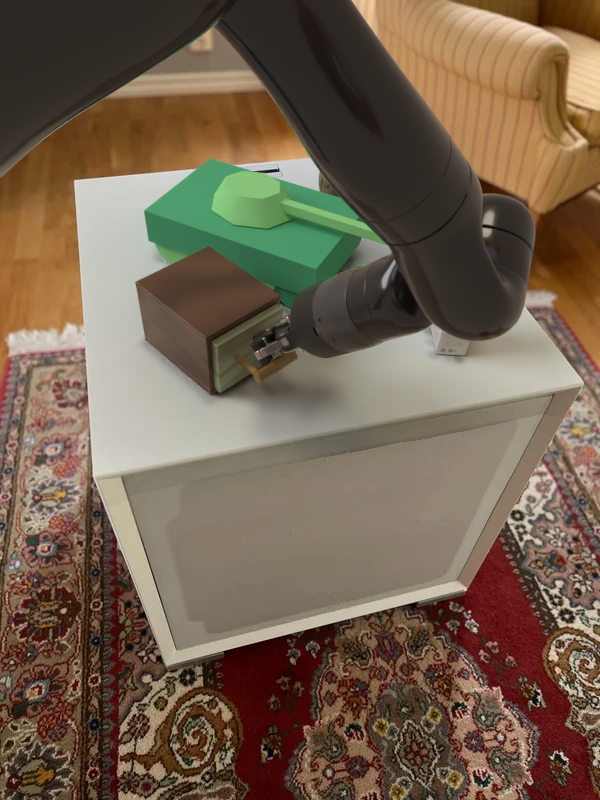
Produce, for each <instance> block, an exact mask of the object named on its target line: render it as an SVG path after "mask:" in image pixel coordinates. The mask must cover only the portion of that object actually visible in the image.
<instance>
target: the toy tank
mask: <svg viewBox="0 0 600 800" xmlns="http://www.w3.org/2000/svg"><path fill="white" fill-rule="evenodd" d="M143 212H144V219H145V220H144V221H145V226H146V234H147V240H148V242H150V243H153V244H154V246H155V248H156V250H157V252H158V253H159V254H160V256H161V258H163V259H164V260H165V261H166V262H167V263H169V264H170V265H171V264H173V263H175V262H177V261H179V260H181V259H183V258H185V257H187V256H190V255H192V254H194V253H196V252H198V251H200V250H202V249H204V248H206V247H208V246H210V247H211V248H212V249H214V250H215V251H217V252H218V253H220V254H221V255H223V256H224V257H226V258H227V259H228V260H230V261H231V262H233V263H234V264H236V265H237V266H239V267H240V268H242V269H243V270H244V271H246V272H247V273H249V274H250V275H252V276H253V277H255V278H256V279H258V280H259V281H260V282H262V283H263V284H265V285H266V286H268V287H269V288H271V289H272V290H274V291H275V292H276V293H278V294H279V295H280V303H282V304H283V305H285V306H286V307H287V308H289V309H291V308H292V304H293V302H294V300H295V298H296V296H297V295H298V294H299V293H300V292H301V291H302V290H303V289H305V288H306V287H308V286H311V285H313V284H315V283H318V282H320V281H322V280H325V279H327V278H329V277H331V276H334V275H336V274H338V273H339V271H340V270H341V269H342V267H343V266H344V265H345V264H346V262H347V261H348V260H349V258H350V257H351V256H352V255H353V253H354V252H355V251H356V249H357V248H358V247H359V245H360V244H361V241H362V238H363V239H365V240H368V241H372V242H375V243H377V244H381V245H384V246H387V247H389V246H388V245H387V244H386V243H384V242H383V241H382V240H381V239H380V238H379V237H378V236H377V235H376V234H375V233H374V232H373V231H372V230H371V229H370V228H369V227H368V226H367V225H366V224H365V223H364V222H363V221H362V220H361V219H360V218H359V217H358V216H357V215H356V214H355V213H354V212H353V211H352V210H351V209H350V208H349V207H348V206H347V204H346V203H345V202H344V201H343V200H342V199H341V198H339V197H336V196H333V195H329V194H326V193H323V192H320V190H317V189H313V188H309V187H307V186H303V185H299V184H297V183H293V182H290V181H286V180H283V179H280V178H276V177H273V176H271V175H269V174H267V173H265V172H260V171H259V172H257V171H254V170H250V169H246V168H243V167H240V166H237V165H234V164H231V163H228V162H223V161H221V160H217V159H215V158H208V159H207V160H206V161H205V162H203V163H202V164H201V165H199V166H198V167H197V168H196V169H194V170H193V171H192V172H190V173H189V174H188V175H187V176H186V177H184V178H183V179H182V180H181V181H179V182H178V183H177V184H175V185H174V186H173V187H171V188H170V189H169V190H168V191H167V192H165V193H164V194H163V195H161V197H159V198H157V199H156V200H155V201H154V202H153V203H152V204H150V205H148V207H146V208H145V209H144V210H143Z"/></svg>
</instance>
